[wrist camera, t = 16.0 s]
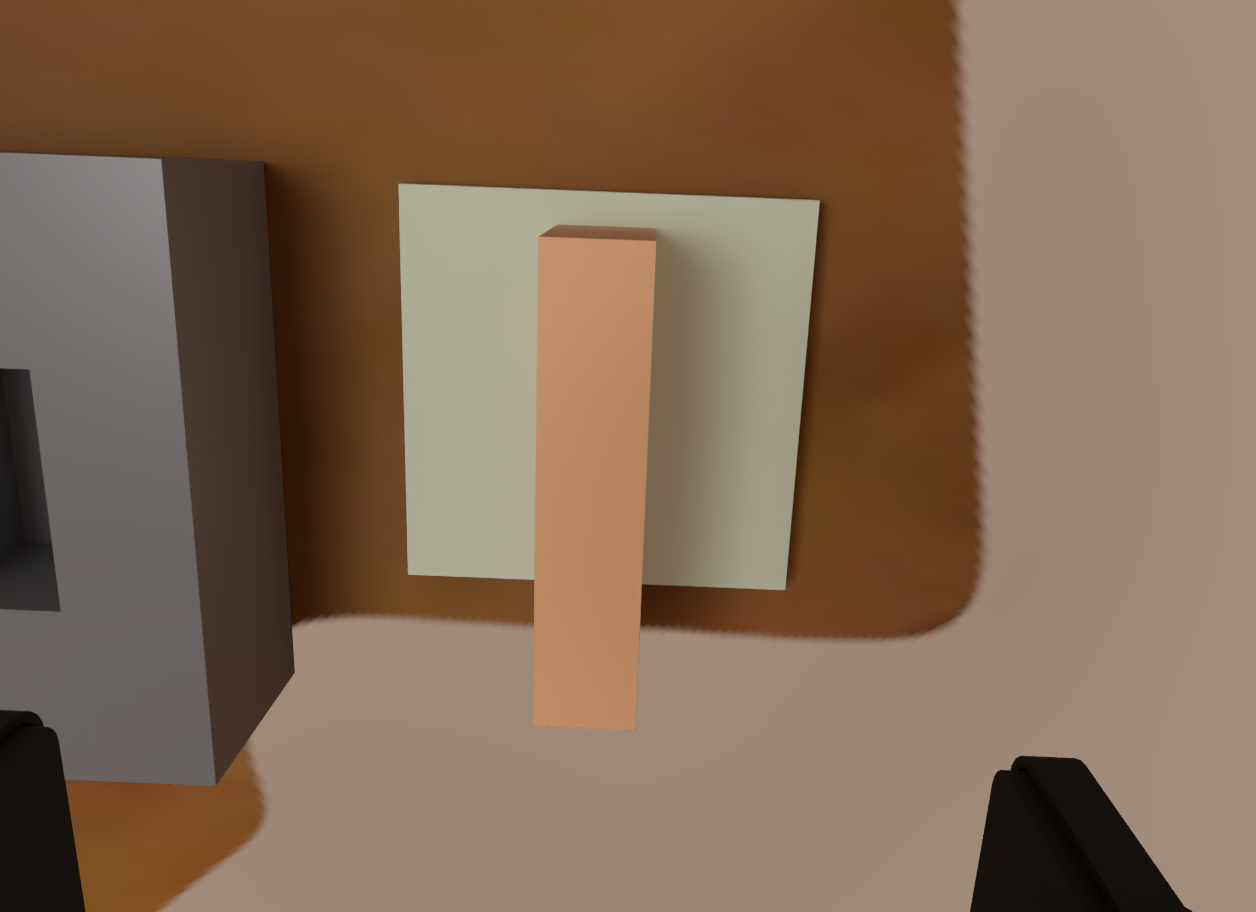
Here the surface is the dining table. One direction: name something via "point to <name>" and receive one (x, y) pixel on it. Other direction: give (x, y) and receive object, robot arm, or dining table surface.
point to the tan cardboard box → (591, 471)
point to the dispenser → (140, 462)
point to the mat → (679, 386)
